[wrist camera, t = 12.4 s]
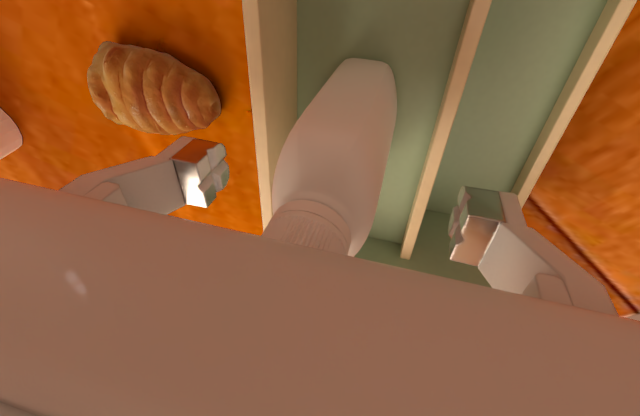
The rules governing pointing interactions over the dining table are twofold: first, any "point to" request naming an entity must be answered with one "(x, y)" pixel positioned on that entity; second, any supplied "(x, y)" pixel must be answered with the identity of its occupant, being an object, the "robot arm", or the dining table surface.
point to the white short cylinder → (8, 135)
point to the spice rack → (433, 98)
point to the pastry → (150, 90)
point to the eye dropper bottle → (336, 161)
